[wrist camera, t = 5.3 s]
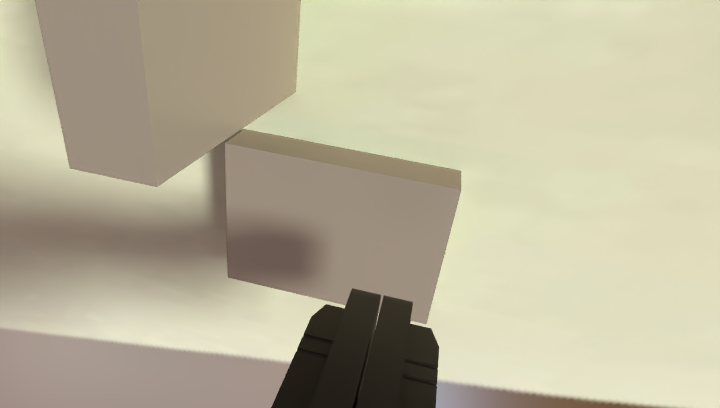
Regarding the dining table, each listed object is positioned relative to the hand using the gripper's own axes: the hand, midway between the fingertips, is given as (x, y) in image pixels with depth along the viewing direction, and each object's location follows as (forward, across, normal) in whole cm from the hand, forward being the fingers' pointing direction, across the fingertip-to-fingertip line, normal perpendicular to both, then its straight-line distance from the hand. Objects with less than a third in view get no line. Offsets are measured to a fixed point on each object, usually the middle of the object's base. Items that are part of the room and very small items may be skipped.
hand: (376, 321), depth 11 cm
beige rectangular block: (+4, -2, 0) cm, 4 cm away
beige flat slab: (+4, +5, -6) cm, 9 cm away
